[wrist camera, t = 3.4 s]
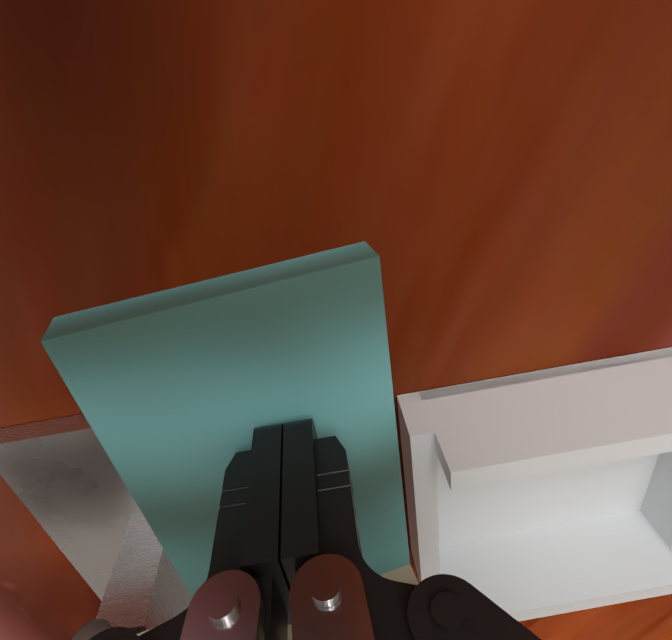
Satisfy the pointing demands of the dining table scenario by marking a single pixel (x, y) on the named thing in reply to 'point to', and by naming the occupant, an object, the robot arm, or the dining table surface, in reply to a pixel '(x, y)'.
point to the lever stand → (92, 520)
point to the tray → (545, 484)
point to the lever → (240, 394)
